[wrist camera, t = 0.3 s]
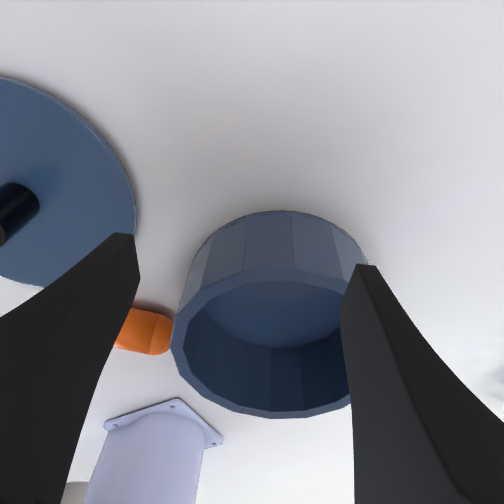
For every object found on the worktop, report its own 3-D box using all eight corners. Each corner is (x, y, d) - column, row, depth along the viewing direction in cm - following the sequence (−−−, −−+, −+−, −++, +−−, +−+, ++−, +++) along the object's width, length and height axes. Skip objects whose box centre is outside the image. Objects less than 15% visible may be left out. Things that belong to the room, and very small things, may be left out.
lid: (39, 303, 28) (3, 350, 24) (-138, 150, 22) (-224, 182, 18) (182, 230, 24) (165, 274, 20) (14, 14, 18) (-58, 17, 14)
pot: (247, 366, 31) (242, 435, 26) (154, 259, 25) (124, 322, 20) (394, 316, 27) (421, 387, 22) (324, 175, 21) (339, 228, 16)
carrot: (182, 310, 28) (173, 340, 25) (176, 336, 30) (167, 367, 27) (74, 286, 27) (54, 314, 25) (75, 314, 29) (56, 344, 26)
